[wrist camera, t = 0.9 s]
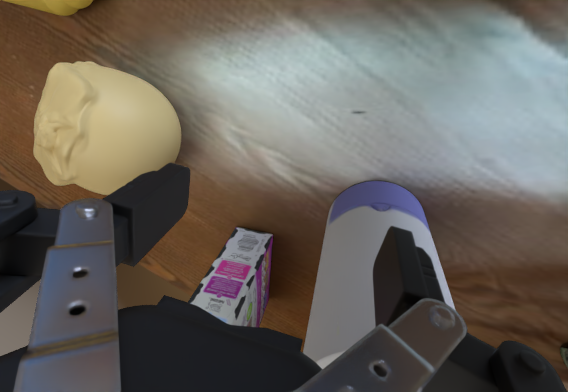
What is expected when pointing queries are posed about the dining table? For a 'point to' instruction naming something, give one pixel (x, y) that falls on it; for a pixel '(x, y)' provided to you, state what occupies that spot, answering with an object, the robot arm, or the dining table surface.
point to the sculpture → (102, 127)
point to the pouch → (564, 355)
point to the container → (359, 264)
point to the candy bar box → (238, 279)
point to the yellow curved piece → (54, 5)
